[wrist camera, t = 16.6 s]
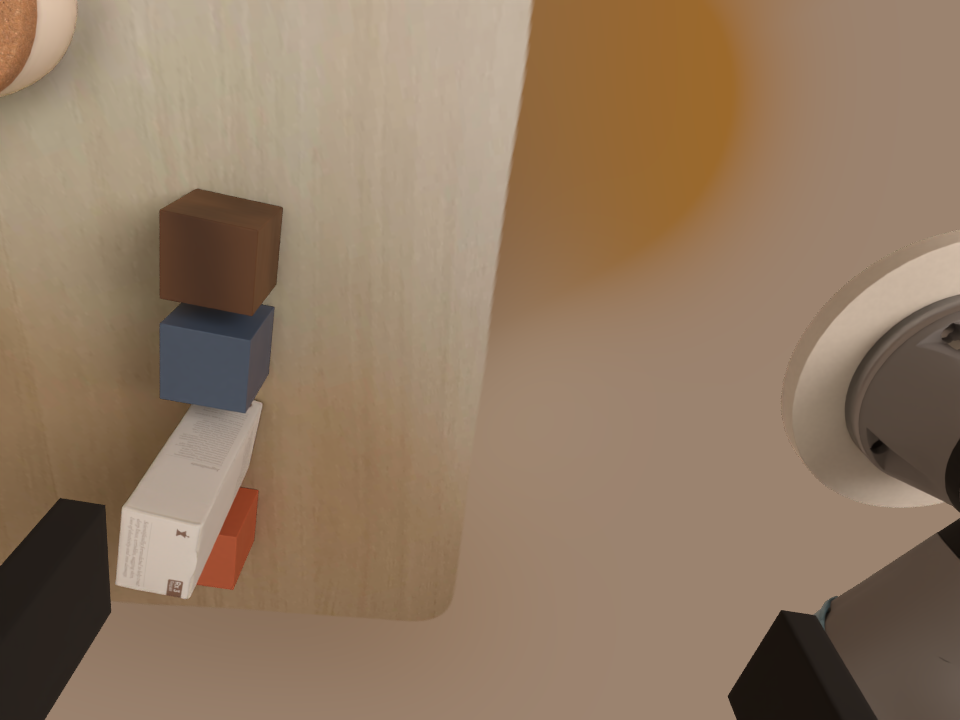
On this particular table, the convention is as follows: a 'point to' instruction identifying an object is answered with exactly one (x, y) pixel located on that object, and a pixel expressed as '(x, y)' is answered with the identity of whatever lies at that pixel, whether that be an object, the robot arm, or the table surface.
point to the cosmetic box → (185, 500)
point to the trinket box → (33, 39)
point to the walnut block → (219, 251)
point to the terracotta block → (232, 542)
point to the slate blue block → (214, 356)
